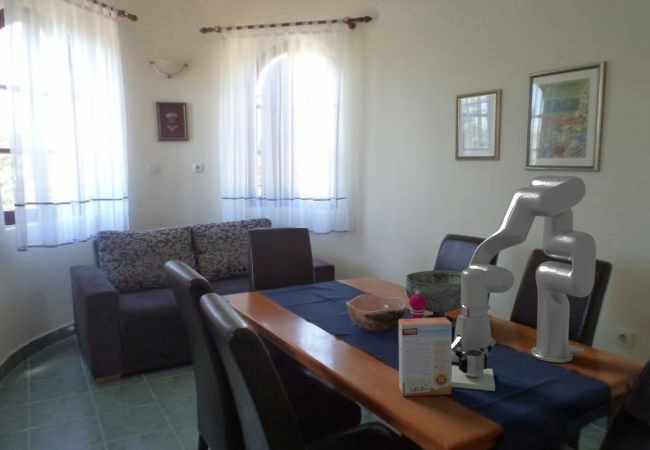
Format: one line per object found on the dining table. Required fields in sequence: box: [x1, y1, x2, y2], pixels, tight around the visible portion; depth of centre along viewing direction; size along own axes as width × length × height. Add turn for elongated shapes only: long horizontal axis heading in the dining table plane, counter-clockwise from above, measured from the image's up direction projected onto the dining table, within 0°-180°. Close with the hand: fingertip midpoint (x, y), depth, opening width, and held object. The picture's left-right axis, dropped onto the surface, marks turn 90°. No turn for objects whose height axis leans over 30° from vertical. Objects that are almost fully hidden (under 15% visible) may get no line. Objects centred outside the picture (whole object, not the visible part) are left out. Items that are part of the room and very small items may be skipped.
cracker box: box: [398, 317, 453, 397], centre depth 142 cm, size 14×6×21 cm, turn 92°
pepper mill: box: [408, 291, 426, 319], centre depth 177 cm, size 7×7×20 cm
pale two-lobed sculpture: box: [452, 347, 460, 364], centre depth 165 cm, size 4×8×5 cm
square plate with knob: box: [451, 365, 496, 392], centre depth 149 cm, size 12×12×6 cm
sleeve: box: [461, 349, 485, 376], centre depth 149 cm, size 6×6×6 cm
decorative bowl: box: [405, 269, 462, 328], centre depth 200 cm, size 26×26×20 cm
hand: (472, 368), depth 149 cm, fingers closed on sleeve, 6 cm apart
